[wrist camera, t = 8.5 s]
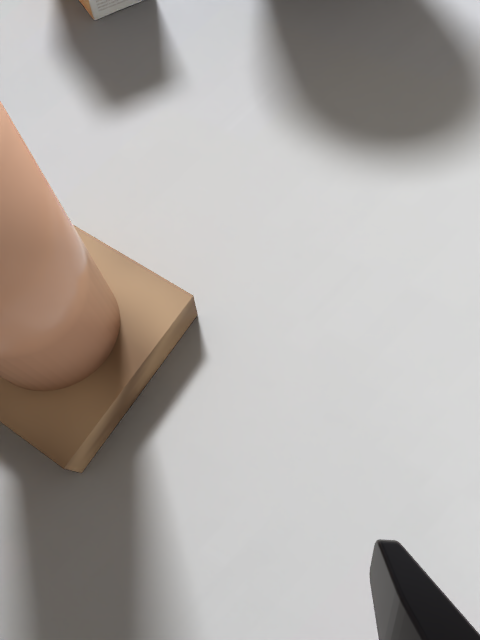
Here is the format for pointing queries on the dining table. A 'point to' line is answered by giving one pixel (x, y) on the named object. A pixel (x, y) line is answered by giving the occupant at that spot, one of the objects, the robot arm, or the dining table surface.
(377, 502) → the dining table surface
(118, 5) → the small box
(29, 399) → the base board
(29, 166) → the peach domed cylinder
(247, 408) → the dining table surface
